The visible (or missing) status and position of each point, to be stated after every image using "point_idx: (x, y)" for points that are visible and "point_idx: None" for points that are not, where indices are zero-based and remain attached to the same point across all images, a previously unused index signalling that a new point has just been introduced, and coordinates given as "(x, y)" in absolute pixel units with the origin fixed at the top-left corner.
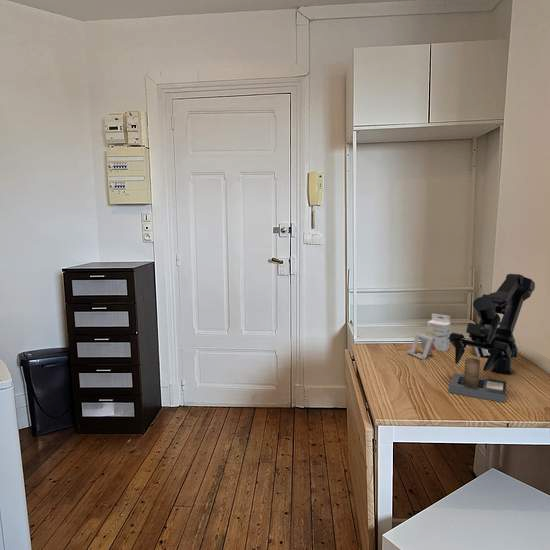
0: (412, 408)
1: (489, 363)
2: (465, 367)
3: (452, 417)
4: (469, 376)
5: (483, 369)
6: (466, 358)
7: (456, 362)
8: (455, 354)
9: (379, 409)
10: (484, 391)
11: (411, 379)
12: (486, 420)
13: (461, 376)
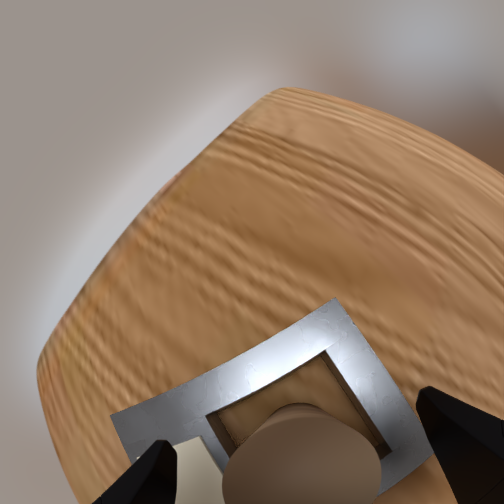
0: (285, 135)
1: (117, 484)
2: (330, 416)
3: (187, 178)
4: (284, 410)
5: (166, 441)
6: (378, 477)
7: (420, 393)
8: (485, 412)
9: (315, 96)
10: (179, 386)
11: (483, 273)
12: (118, 239)
13: (386, 457)
